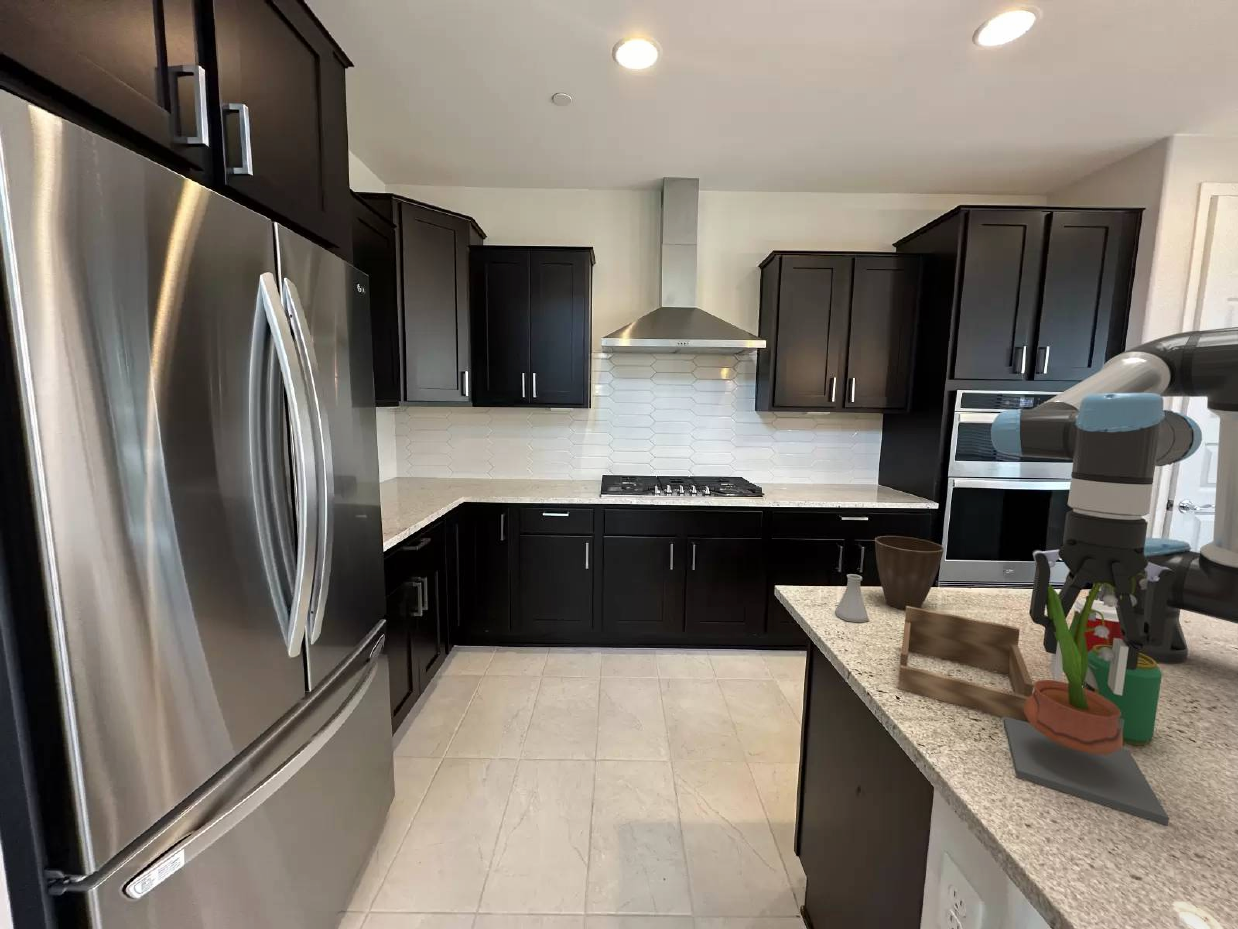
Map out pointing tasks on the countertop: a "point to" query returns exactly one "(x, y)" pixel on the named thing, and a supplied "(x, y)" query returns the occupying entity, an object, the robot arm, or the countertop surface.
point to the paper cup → (1100, 623)
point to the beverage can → (1128, 694)
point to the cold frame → (965, 661)
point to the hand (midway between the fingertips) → (1084, 682)
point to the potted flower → (1078, 682)
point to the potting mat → (1082, 772)
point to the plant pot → (907, 569)
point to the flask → (852, 602)
